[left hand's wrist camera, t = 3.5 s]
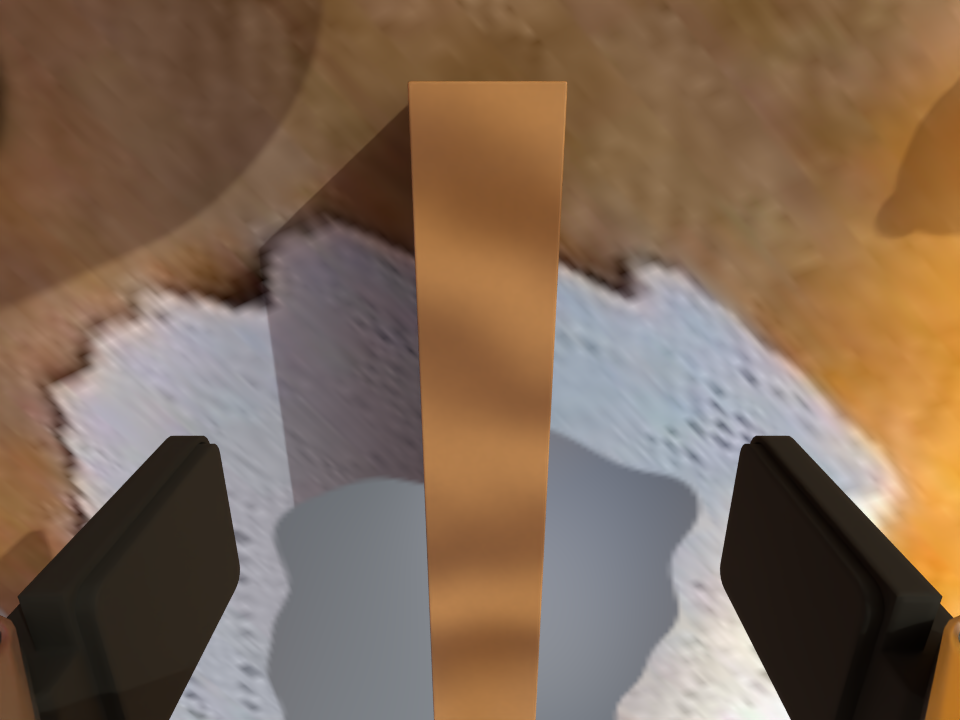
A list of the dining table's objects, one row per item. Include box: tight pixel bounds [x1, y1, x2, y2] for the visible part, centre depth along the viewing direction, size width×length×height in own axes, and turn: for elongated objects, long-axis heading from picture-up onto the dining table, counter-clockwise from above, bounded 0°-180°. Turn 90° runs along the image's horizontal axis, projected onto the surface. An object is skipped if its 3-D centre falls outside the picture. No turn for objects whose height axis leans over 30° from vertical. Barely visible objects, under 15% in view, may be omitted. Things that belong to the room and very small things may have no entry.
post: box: [408, 81, 567, 720], centre depth 35 cm, size 63×5×8 cm, turn 0°
